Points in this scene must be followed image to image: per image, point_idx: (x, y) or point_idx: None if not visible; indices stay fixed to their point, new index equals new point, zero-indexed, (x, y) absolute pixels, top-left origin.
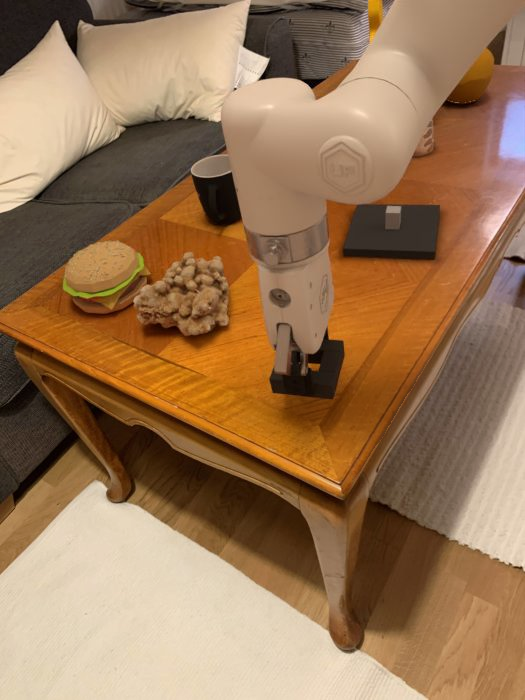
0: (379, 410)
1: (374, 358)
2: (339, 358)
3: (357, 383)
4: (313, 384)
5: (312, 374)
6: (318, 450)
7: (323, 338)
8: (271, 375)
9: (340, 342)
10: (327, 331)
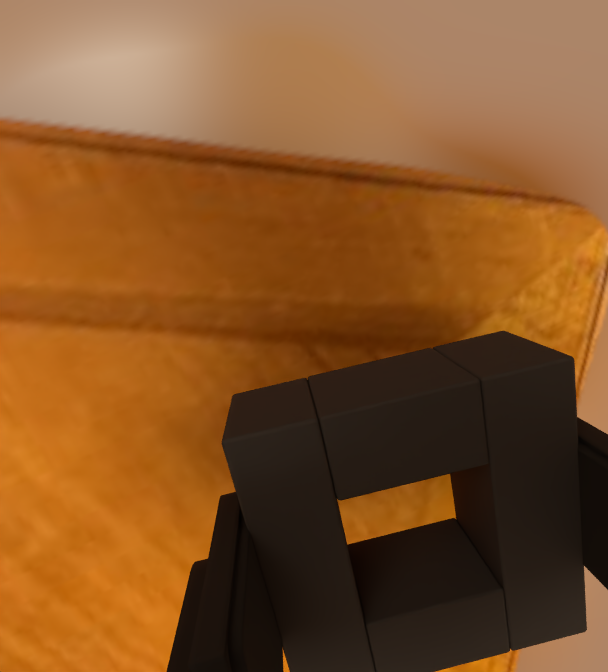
0: (324, 195)
1: (95, 300)
2: (359, 402)
3: (238, 310)
4: (600, 443)
5: (522, 477)
6: (530, 315)
7: (253, 546)
8: (568, 634)
9: (245, 450)
10: (217, 561)
